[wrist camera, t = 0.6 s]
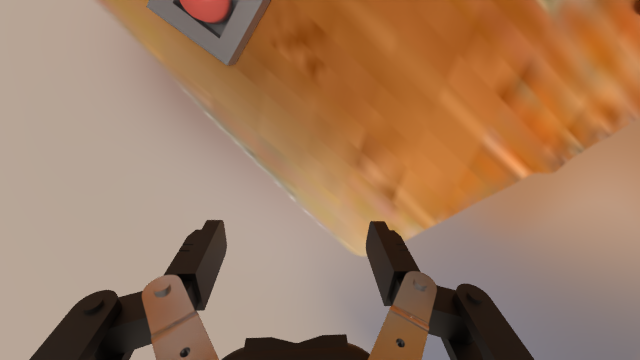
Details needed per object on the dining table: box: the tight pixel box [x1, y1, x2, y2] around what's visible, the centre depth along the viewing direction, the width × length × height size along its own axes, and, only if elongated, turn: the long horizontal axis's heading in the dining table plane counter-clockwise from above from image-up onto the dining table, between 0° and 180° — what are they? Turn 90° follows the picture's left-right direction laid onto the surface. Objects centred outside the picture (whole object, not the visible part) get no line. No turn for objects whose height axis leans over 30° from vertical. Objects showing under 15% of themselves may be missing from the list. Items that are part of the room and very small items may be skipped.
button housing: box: [147, 0, 271, 65], centre depth 27 cm, size 9×9×4 cm
